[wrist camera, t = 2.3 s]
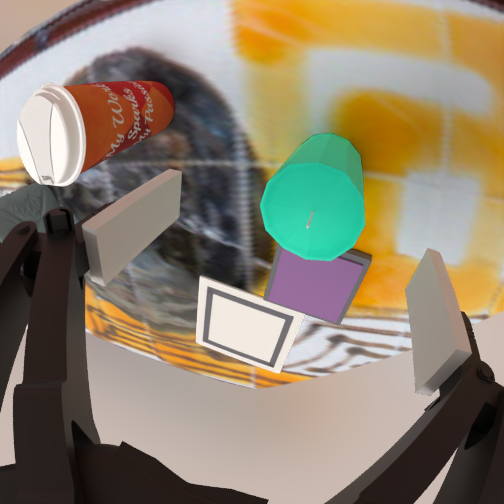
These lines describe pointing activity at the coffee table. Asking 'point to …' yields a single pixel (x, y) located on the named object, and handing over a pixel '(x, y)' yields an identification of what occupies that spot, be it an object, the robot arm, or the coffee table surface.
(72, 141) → the paper cup
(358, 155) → the candle
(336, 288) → the ink pad
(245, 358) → the marked card
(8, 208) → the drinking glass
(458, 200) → the coffee table surface
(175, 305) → the coffee table surface
